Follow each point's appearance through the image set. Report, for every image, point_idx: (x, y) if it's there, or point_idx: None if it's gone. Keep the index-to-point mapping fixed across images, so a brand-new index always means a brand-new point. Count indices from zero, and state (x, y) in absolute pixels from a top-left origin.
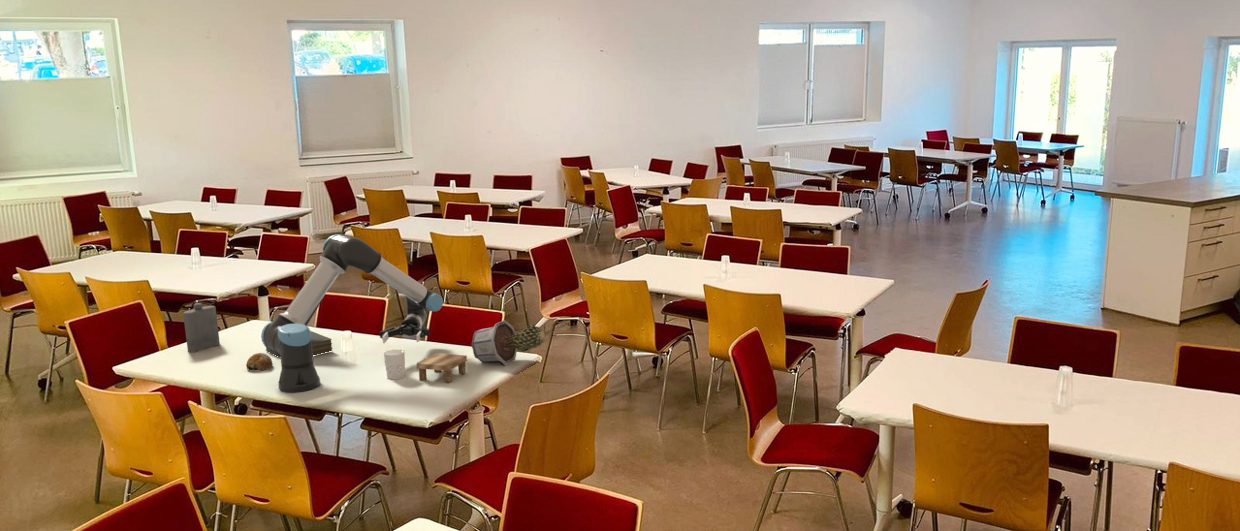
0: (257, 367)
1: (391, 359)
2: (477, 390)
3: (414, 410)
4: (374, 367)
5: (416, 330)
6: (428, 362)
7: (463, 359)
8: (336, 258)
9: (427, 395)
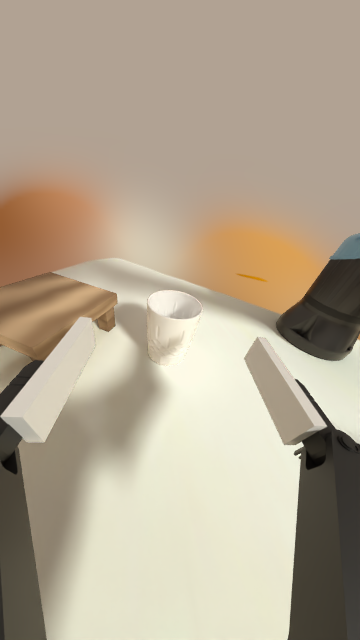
0: None
1: (175, 300)
2: None
3: (127, 265)
4: (261, 442)
5: (14, 600)
6: (87, 291)
7: None
8: None
9: (109, 282)
